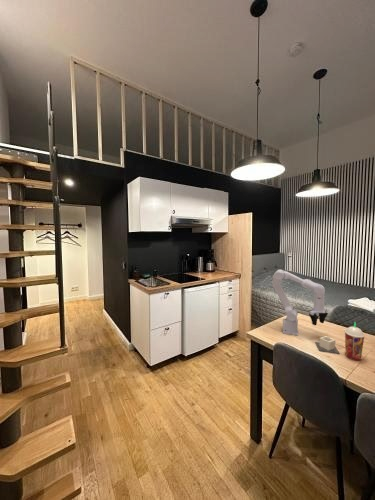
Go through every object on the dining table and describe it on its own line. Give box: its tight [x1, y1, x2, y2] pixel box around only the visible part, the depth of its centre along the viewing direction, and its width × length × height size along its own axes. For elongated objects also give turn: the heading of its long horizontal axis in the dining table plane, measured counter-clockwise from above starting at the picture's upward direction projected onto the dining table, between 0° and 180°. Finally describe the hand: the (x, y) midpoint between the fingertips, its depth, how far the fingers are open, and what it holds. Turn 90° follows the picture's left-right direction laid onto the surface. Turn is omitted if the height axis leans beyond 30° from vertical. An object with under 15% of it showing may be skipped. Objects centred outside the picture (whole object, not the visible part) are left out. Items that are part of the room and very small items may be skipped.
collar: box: [319, 335, 336, 350], centre depth 124 cm, size 6×6×5 cm
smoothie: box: [344, 321, 365, 361], centre depth 115 cm, size 8×8×20 cm
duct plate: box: [314, 340, 340, 355], centre depth 125 cm, size 10×10×4 cm
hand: (317, 323), depth 137 cm, fingers open, 7 cm apart
